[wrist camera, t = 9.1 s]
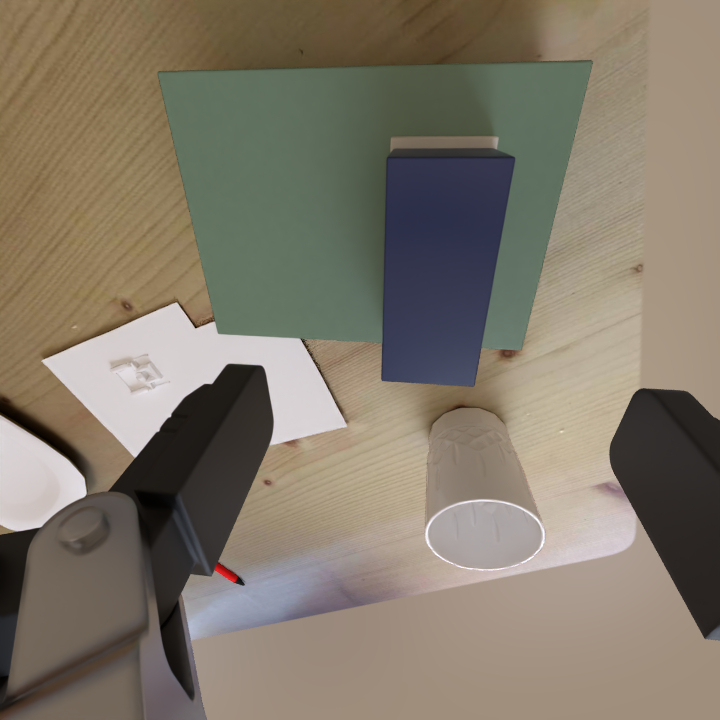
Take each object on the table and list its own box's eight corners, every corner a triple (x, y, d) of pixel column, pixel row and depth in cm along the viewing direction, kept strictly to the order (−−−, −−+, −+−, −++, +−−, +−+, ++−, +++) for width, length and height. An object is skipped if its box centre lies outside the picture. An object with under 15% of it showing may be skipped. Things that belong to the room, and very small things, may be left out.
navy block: (391, 136, 17) (383, 143, 13) (494, 135, 17) (522, 142, 12) (386, 336, 22) (378, 388, 18) (464, 340, 22) (475, 394, 18)
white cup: (531, 442, 34) (569, 548, 26) (457, 478, 38) (469, 582, 29) (478, 385, 32) (500, 482, 23) (404, 429, 35) (401, 528, 27)
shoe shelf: (223, 82, 23) (155, 71, 17) (543, 75, 21) (594, 59, 15) (257, 291, 30) (217, 334, 24) (499, 301, 28) (521, 350, 22)
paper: (159, 481, 43) (154, 489, 42) (37, 362, 36) (27, 368, 35) (356, 420, 35) (354, 428, 34) (248, 250, 28) (242, 254, 27)
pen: (133, 503, 47) (127, 511, 46) (248, 581, 54) (245, 589, 53) (129, 505, 47) (123, 513, 46) (244, 583, 54) (241, 591, 53)
